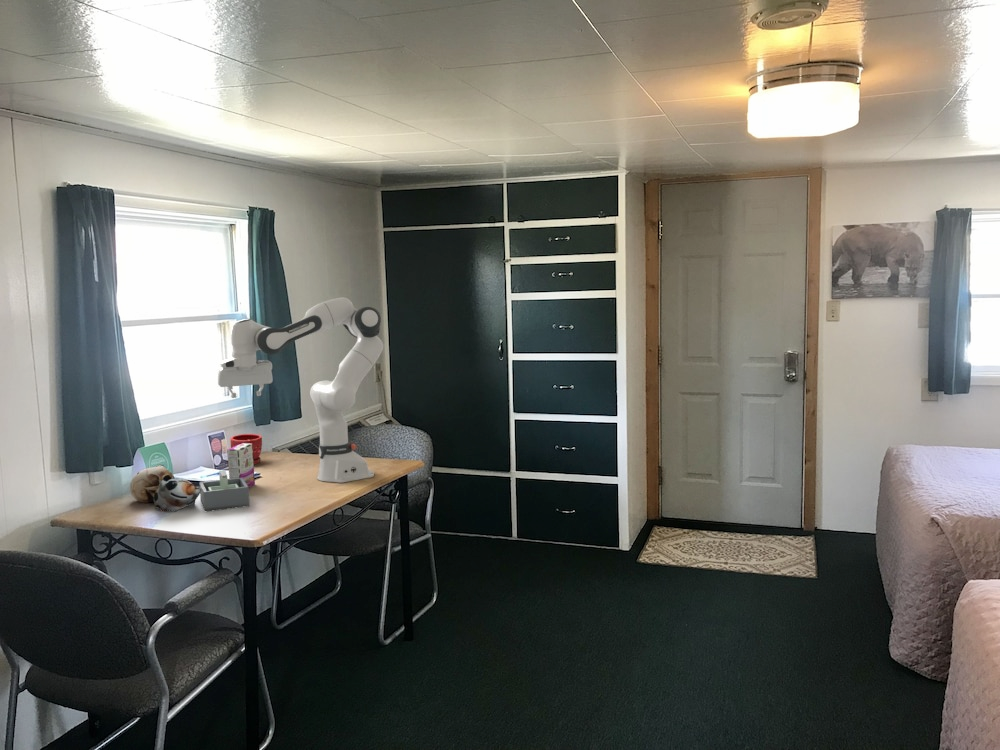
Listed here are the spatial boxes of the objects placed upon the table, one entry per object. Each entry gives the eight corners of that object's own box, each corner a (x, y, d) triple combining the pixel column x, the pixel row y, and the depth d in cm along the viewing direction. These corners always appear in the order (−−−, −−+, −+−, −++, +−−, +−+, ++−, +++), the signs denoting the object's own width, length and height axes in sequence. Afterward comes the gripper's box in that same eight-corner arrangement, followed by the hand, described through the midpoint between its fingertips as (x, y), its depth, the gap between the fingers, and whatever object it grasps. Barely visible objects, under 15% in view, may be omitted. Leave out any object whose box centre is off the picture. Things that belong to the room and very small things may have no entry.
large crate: (243, 495, 307) (242, 477, 306) (249, 506, 294) (248, 486, 293) (200, 501, 301) (199, 482, 300) (205, 511, 287) (203, 492, 286)
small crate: (237, 495, 304) (235, 468, 302) (241, 502, 295) (239, 474, 293) (208, 499, 299) (207, 471, 298) (211, 506, 291) (210, 477, 289)
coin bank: (191, 499, 303) (185, 464, 301) (143, 513, 292) (136, 477, 290) (176, 492, 315) (169, 458, 313) (129, 505, 304) (122, 471, 302)
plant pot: (225, 466, 354) (224, 439, 353) (241, 459, 367) (240, 433, 365) (253, 467, 351) (252, 440, 350) (268, 460, 364) (267, 434, 363)
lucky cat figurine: (198, 500, 302) (206, 470, 296) (193, 521, 292) (201, 491, 286) (155, 492, 297) (162, 461, 291) (148, 513, 287) (155, 482, 281)
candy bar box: (243, 483, 325) (241, 442, 323) (255, 484, 324) (253, 443, 322) (228, 491, 314) (226, 449, 312) (241, 491, 313) (238, 449, 311)
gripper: (270, 358, 325) (272, 393, 327) (216, 362, 316) (218, 397, 318) (273, 360, 319) (275, 395, 321) (218, 363, 311) (220, 400, 312)
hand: (246, 396), depth 319 cm, fingers open, 8 cm apart
